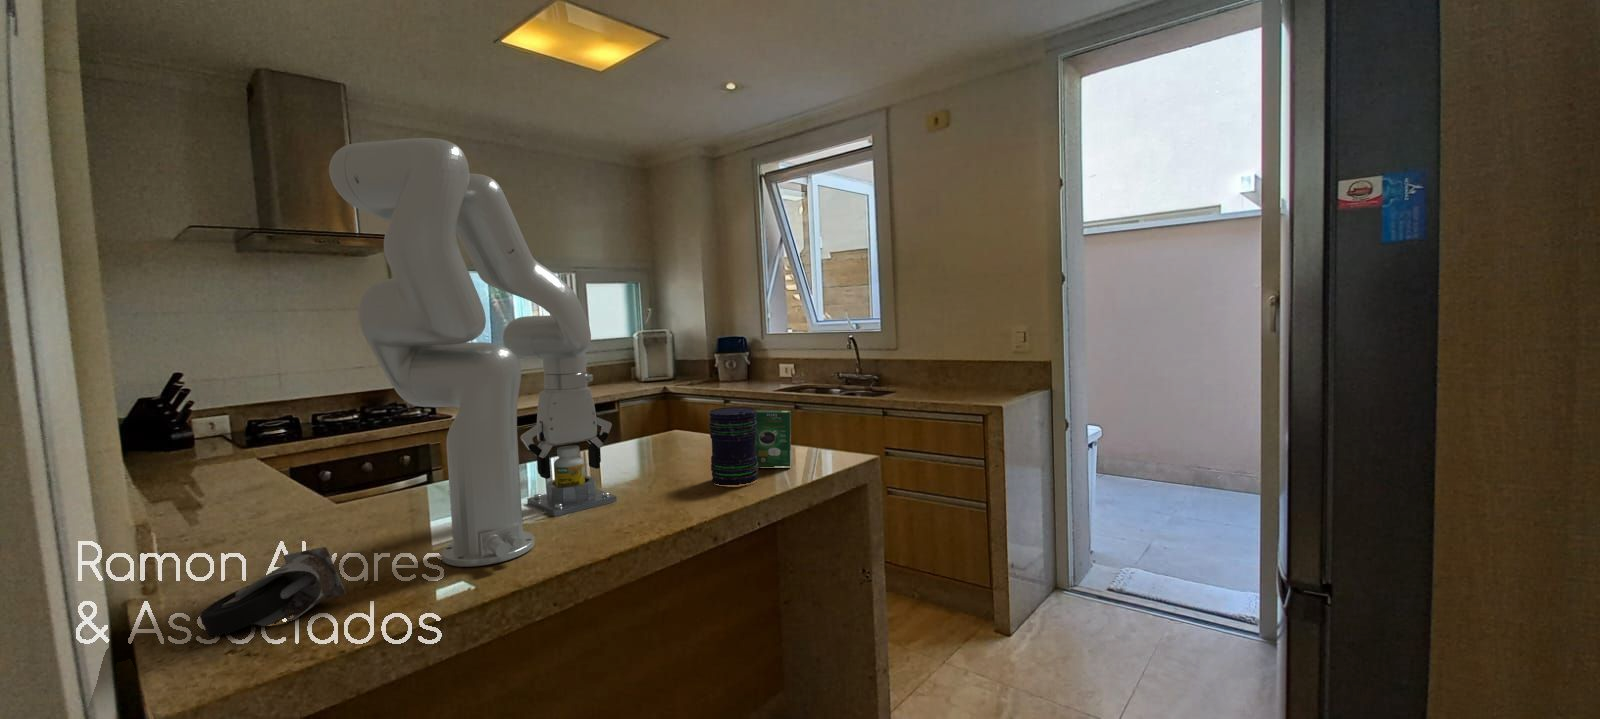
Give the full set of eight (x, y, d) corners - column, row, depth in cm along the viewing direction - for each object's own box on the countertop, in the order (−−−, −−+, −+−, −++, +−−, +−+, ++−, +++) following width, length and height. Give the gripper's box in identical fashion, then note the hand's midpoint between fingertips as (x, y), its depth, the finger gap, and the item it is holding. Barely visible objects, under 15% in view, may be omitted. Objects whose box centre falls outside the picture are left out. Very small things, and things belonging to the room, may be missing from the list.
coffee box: (792, 466, 145) (791, 409, 144) (791, 469, 142) (790, 411, 141) (757, 466, 146) (756, 409, 145) (755, 469, 143) (754, 411, 142)
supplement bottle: (587, 492, 124) (584, 443, 123) (584, 500, 119) (582, 449, 118) (557, 494, 123) (555, 445, 122) (553, 502, 117) (551, 451, 117)
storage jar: (702, 481, 134) (699, 411, 133) (740, 472, 140) (737, 405, 139) (729, 490, 126) (727, 416, 125) (768, 480, 133) (766, 410, 132)
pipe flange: (616, 501, 121) (615, 480, 120) (554, 516, 112) (553, 494, 112) (587, 490, 129) (586, 470, 129) (527, 503, 121) (526, 482, 121)
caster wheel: (197, 657, 73) (279, 604, 82) (276, 643, 70) (350, 591, 80) (172, 605, 71) (257, 558, 81) (251, 590, 69) (329, 544, 79)
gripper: (599, 377, 128) (603, 461, 129) (510, 385, 116) (516, 478, 117) (617, 379, 123) (621, 466, 124) (527, 388, 110) (532, 485, 112)
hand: (570, 472), depth 120 cm, fingers open, 9 cm apart
